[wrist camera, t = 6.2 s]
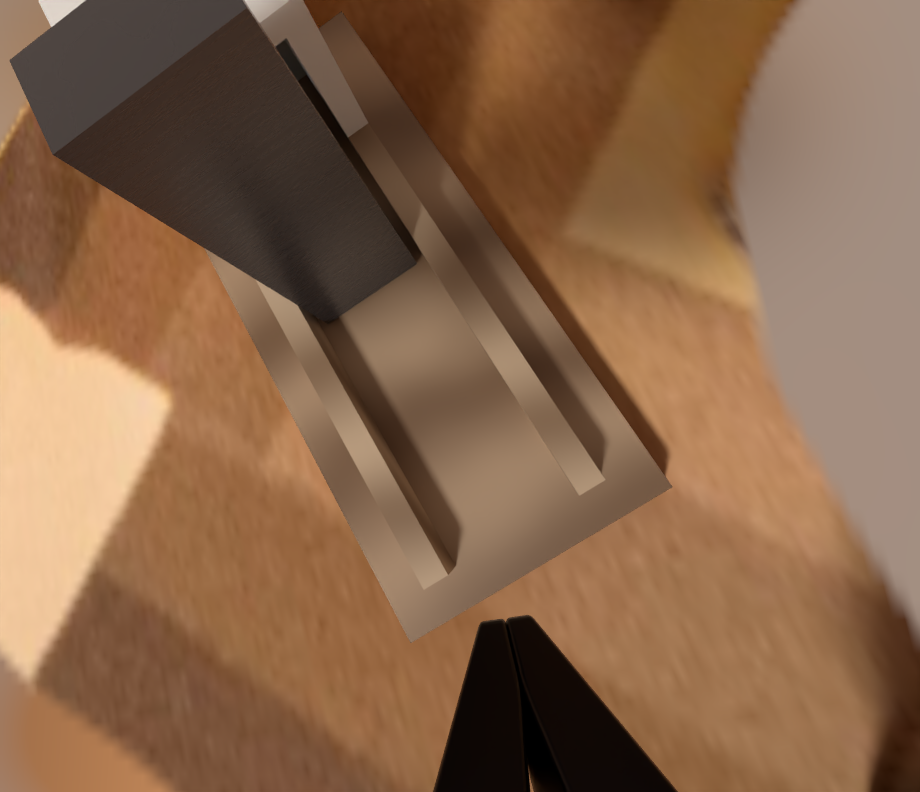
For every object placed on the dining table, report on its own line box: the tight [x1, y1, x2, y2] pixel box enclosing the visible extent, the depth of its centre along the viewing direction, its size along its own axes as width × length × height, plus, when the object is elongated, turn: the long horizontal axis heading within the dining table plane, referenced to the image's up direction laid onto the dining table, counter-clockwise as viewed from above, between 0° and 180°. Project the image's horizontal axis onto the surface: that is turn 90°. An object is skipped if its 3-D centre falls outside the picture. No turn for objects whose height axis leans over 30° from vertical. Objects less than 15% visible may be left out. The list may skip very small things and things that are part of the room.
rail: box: [204, 11, 672, 643], centre depth 19 cm, size 25×11×3 cm, turn 32°
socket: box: [39, 0, 368, 155], centre depth 18 cm, size 6×7×7 cm
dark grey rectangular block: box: [10, 0, 417, 324], centre depth 15 cm, size 10×4×11 cm, turn 32°
